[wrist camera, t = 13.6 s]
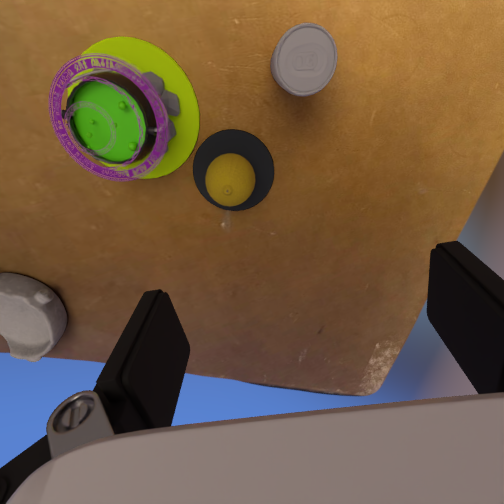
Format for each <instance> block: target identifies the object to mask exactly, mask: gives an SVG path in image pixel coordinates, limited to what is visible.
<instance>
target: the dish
mask: <svg viewBox="0 0 504 504" xmlns="http://www.w3.org/2000/svg"><path fill="white" fill-rule="evenodd" d="M66 324H67V314H66V311H65V308H64V306H63V304H62V302H61V301H60V299H59V298H58V296H57V295H56V294H55V293H54V292H53V291H52V290H51V289H50V288H48V287H47V286H46V285H44V284H42V283H40V282H38V281H36V280H34V279H32V278H29V277H26V276H23V275H19V274H13V273H0V334H1V335H2V336H4V337H5V339H6V340H7V342H8V345H9V348H10V350H11V352H10V355H11V356H12V357H14V358H18V359H27V360H28V361H31V362H36V361H39V360H40V359H41V358H42V356H43V355H45V354H46V353H48V352H49V351H50V350H51V349H52V348H53V347H54V346H55V345H56V343H57V342H58V341H59V339H60V338H61V336H62V334H63V333H64V330H65V328H66Z"/></svg>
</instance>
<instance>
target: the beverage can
mask: <svg viewBox="0 0 504 504" xmlns="http://www.w3.org/2000/svg"><path fill="white" fill-rule="evenodd" d="M336 64H337V48H336V45H335V42H334V39H333V38H332V36H331V35H330V33H329V32H328V31H327V30H326V29H324V28H323V27H322V26H319V25H317V24H314V23H302V24H298V25H296V26H294V27H292V28H291V29H289V30H288V31H287V32H286V33H285V34H284V35H283V36H282V37H281V39H280V41H279V42H278V44H277V46H276V48H275V50H274V52H273V55H272V58H271V65H270V67H271V73H272V75H273V78H274V79H275V81H276V82H277V83H278V84H279V85H280V86H281V87H282V88H283V89H285V90H286V91H287V92H288V93H290V94H293V95H295V96H304V97H305V96H309V95H313V94H315V93H317V92H319V91H321V90H322V89H323V88H324V87H325V86H326V85H327V84H328V82H329V81H330V80H331V78H332V76H333V74H334V71H335V69H336Z"/></svg>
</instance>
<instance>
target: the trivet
mask: <svg viewBox="0 0 504 504" xmlns="http://www.w3.org/2000/svg"><path fill="white" fill-rule="evenodd" d="M227 153H234V154H238V155H240V156H242V157H244V158H245V159H246V160H247V161H249V163H250V164H251V166H252V167H253V170H254V173H255V186H254V189H253V191H252V193H251V195H250V196H249V197H248V199H247V200H246V201H244V202H243V203H241V204H239V205H236V206H224V205H221V204H219V203H217V202H216V201H214V200H213V199H212V197H211V196H210V195H209V193H208V191H207V188H206V183H205V176H206V172H207V169H208V167H209V165H210V164H211V162H212V161H213V160H214V159H215V158H217V157H219V156H220V155H223V154H227ZM193 175H194V180H195V183H196V185H197V188H198V189H199V191H200V193H201V194H202V195H203V196H204V197H205V198H206V200H208V201H209V202H210V203H212V204H213V205H215V206H217V207H219V208H222V209H225V210H231V211H239V210H245V209H248V208H251V207H253V206H255V205H256V204H258V203H259V202H260V201H262V200H263V198H264V197H265V196H266V195H267V193H268V192H269V190H270V188H271V186H272V182H273V178H274V166H273V161H272V157H271V155H270V153H269V151H268V149H267V147H266V146H265V145H264V144H263V143H262V142H261V141H260V140H259V139H258V138H257V137H255V136H254V135H252V134H250V133H248V132H245V131H242V130H235V129H230V130H223V131H220V132H217V133H215V134H213V135H211V136H210V137H208V138H207V139H206V140H205V141H204V142H203V143H202V144H201V146H200V147H199V149H198V151H197V153H196V155H195V158H194V162H193Z"/></svg>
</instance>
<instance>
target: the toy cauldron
mask: <svg viewBox="0 0 504 504" xmlns="http://www.w3.org/2000/svg"><path fill="white" fill-rule="evenodd" d="M77 57H78V59H77ZM77 57H75V58H76V60H77V62H76V63H74V64H72V65H71V66H70V67H68V68H67V69H66V70H65V71H64V72H63V73H62V75H61V76H60V78H59V80H58V82H57V84H58V86H59V85H60V86H61V88H60V87H58V86H57V84H56V86H55V89H54V93H55V92H56V93H55V95H54V94H53V107H54V108H55V109H54V108H53V112H54V113H53V115H54V120H53V116H51V115H52V108H51V107H49V112H50V110H51V115H50V118H51V117H52V120H51V122H52V121H53V123H54V121H55V124H56V125H55V124H54V126H53V128H54V127H55V126H56V127H57V128H58V130H56V127H55V129H54V131H55V130H56V132H57V133H56V132H55V133H56V135H57V134H58V132H59V134H58V136H59V135H60V136H61V138H62V140H61V138H60V136H59V137H58V136H57V137H58V139H59V138H60V140H59V141H61V144H62V143H63V145H64V144H65V145H64V146H65V148H66V146H67V148H68V147H69V145H70V143H69V142H71V139H72V140H73V138H74V140H75V141H76V142H77V143H78V144H77V145H79V146H80V147H81V148H82V149H83V150H84V151H85V153H87V154H89V155H90V156H92V157H93V158H95V159H96V160H99V161H100V162H102V163H103V164H104V165H106V166H107V167H108V168H106V167H105V168H103V167H101V166H98V165H96V164H95V163H93V162H91V161H90V160H88V159H87V158H86V157H85V156H83V155H82V154H81V153H80V152H79V151H78V150H77V148H78V147H79V146H78V147H77V146H76V145H75V144H74V143H73V142H71V145H70V147H69V148H68V149H69V150H70V151H71V153H72V154H73V155H74V156H75V157H76V158H77V159H78V160H79V158H80V159H81V160H79V161H80V162H82V161H83V162H82V163H83V164H84V165H85V166H87V165H88V166H87V167H88V168H90V169H91V167H92V168H93V169H92V170H93V171H95V172H97V173H100V174H102V175H105V176H109V177H114V176H115V177H114V178H129V177H133V178H137V179H139V178H142V179H149V178H158V177H161V176H164V175H167V174H169V173H171V172H173V171H174V170H176V169H178V168H179V167H180V166H181V165H182V164H183V163H184V162H185V161H186V160H187V159H188V157H189V156H190V154H191V153H192V151H193V149H194V147H195V144H196V142H197V139H198V134H199V128H200V112H199V107H198V101H197V98H196V95H195V92H194V89H193V87H192V84H191V83H190V81H189V79H188V78H187V76H186V74H185V72H184V71H183V70H182V69H181V67H180V66H179V65H178V64H177V63H176V61H175V60H174V59H173V58H171V57H170V56H169V55H168V54H167V53H166V52H164V51H163V50H162V49H160V48H158V47H156V46H155V45H153V44H151V43H149V42H147V41H143V40H140V39H137V38H132V37H121V36H120V37H114V38H107V39H104V40H102V41H100V42H97V43H95V44H93V45H92V46H91V47H90V48H88V49H87V50H86V51H85V52H83V54H82V55H80V56H77ZM79 57H80V58H79ZM75 58H73V59H74V61H71V60H73V59H71V60H70V61H71V63H73V62H75V61H76V60H75ZM68 62H69V61H68ZM68 62H67V63H68ZM67 63H66V64H67ZM71 63H70V62H69V64H68V65H70V64H71ZM66 64H64V65H66ZM64 65H63V66H64ZM68 65H66V66H65V67H63V66H62V67H63V69H62V71H63V70H64V69H65V68H66V67H67V66H68ZM62 67H61V68H62ZM68 69H70V70H71V71H72V72H71V71H69V70H68ZM67 70H68V71H69V72H70V73H68V71H67ZM59 71H61V69H60V70H59ZM59 71H58V72H59ZM62 71H61V72H62ZM58 72H57V74H58ZM61 72H59V74H58V75H57V74H56V75H57V77H56V76H55V77H56V79H55V78H54V79H55V81H54V80H53V81H54V82H56V80H57V78H58V77H59V75H60V74H61ZM65 72H67V73H68V74H70V75H68V74H67V73H65ZM64 73H65V74H64ZM67 75H68V76H69V77H70V78H69V77H68V76H67ZM64 76H65V78H64ZM66 76H67V77H66ZM62 77H63V79H62ZM60 79H61V80H62V82H63V81H64V82H65V79H67V80H66V82H65V83H64V82H63V83H64V84H63V85H62V82H61V80H60ZM59 82H60V83H59ZM52 84H53V82H52ZM54 85H55V83H54ZM54 85H53V88H54ZM51 87H52V85H51ZM53 88H52V92H53ZM66 88H68V99H67V106H66V110H61V100H62V95H63V93H64V92H65V91H64V90H65V89H66ZM50 91H51V88H50ZM60 95H61V96H60ZM54 97H55V98H54ZM60 97H61V98H60ZM49 99H50V94H49ZM59 99H60V100H59ZM50 100H52V93H51V99H50ZM59 101H60V102H59ZM50 102H51V101H50ZM59 103H60V104H59ZM50 104H51V103H50ZM50 106H51V105H50ZM50 108H51V109H50ZM56 112H58V113H57V114H59V115H57V114H56ZM62 118H63V119H64V124H65V119H66V120H67V123H68V124H66V126H67V125H68V127H69V128H67V129H68V130H69V129H70V132H71V134H72V136H73V138H72V137H71V139H70V138H69V136H68V134H67V132H68V131H66V128H64V125H63V121H62ZM58 120H59V121H61V122H58ZM56 121H57V122H56ZM53 123H52V125H53ZM59 123H61V124H59ZM60 125H61V126H60ZM59 126H60V127H63V129H59ZM62 134H66V135H67V136H64V135H62ZM71 134H70V135H71ZM63 136H64V137H63ZM66 138H67V139H66ZM64 139H66V140H64ZM67 140H69V141H67ZM75 141H74V142H75ZM67 143H69V145H68V144H67ZM63 145H62V146H63ZM74 145H75V146H76V147H77V148H76V147H75V146H74ZM64 146H63V147H64ZM73 146H74V147H73ZM71 147H73V148H74V149H73V148H71ZM65 148H64V149H65ZM67 148H66V149H65V150H66V151H67V150H68V149H67ZM72 149H73V150H72ZM69 150H68V152H69ZM80 150H81V149H80ZM81 151H82V150H81ZM84 151H83V152H84ZM69 153H70V152H69ZM69 153H68V154H69ZM71 153H70V154H69V155H70V156H71V155H72V154H71ZM76 153H79V154H80V155H79V154H76ZM75 154H76V155H75ZM73 155H72V156H73ZM78 155H79V156H78ZM81 155H82V157H81ZM70 156H69V157H70ZM72 156H71V157H72ZM74 156H73V157H72V158H73V159H74V158H75V157H74ZM76 158H75V159H76ZM75 159H74V160H75ZM77 159H76V160H75V161H76V162H77V161H78V160H77ZM84 159H85V160H84ZM86 160H87V161H88V162H87V161H86ZM79 161H78V162H79ZM85 161H86V162H85ZM89 161H90V162H89ZM78 162H77V163H78ZM80 162H79V163H80ZM79 163H78V164H79ZM88 163H89V164H88ZM91 163H93V164H91ZM80 164H81V163H80ZM80 164H79V165H80ZM83 164H81V165H83ZM86 164H87V165H86ZM94 164H95V165H94ZM84 165H83V166H84ZM92 165H93V166H94V167H93V166H92ZM83 166H82V167H83ZM85 166H84V167H85ZM95 166H96V167H95ZM84 167H83V168H84ZM87 167H86V168H87ZM88 168H87V169H88ZM109 168H110V169H112V170H110V169H109ZM87 169H86V170H87ZM90 169H88V171H89V170H90ZM92 170H90V171H92ZM103 170H104V171H103ZM105 170H106V171H107V172H108V170H109V174H108V173H104V172H105ZM90 171H89V172H90ZM93 171H92V172H93ZM110 171H111V172H112V171H113V172H112V173H111V172H110ZM92 172H91V173H92ZM95 172H94V173H95ZM102 172H103V173H104V174H103V173H102ZM114 172H115V174H114ZM116 172H117V173H120V174H121V177H119V176H120V174H119V175H118V174H117V175H116ZM94 173H93V174H94ZM97 173H95V175H96V174H97ZM100 174H97V176H98V175H100ZM107 174H108V175H107ZM112 174H113V175H112ZM122 174H123V176H124V175H125V176H124V177H123V176H122ZM102 175H101V176H102ZM111 175H112V176H111ZM101 176H99V177H101ZM105 176H103V177H105ZM128 176H129V177H128ZM103 177H102V178H103ZM109 177H106V178H105V179H107V178H108V180H110V179H114V178H110V179H109ZM133 178H129V179H133ZM129 179H128V181H131V180H129ZM117 180H118V179H117ZM117 180H115V179H114V180H113V181H117ZM119 180H127V179H119ZM133 180H135V179H133Z"/></svg>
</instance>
